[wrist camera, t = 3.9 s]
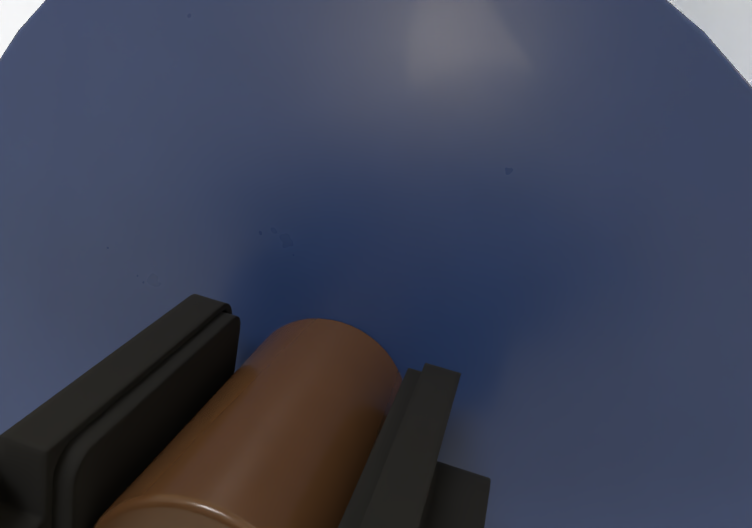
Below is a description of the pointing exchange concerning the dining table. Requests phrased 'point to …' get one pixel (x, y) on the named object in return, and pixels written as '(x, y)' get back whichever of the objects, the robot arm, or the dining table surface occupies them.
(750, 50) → the dining table surface
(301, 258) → the pot lid
